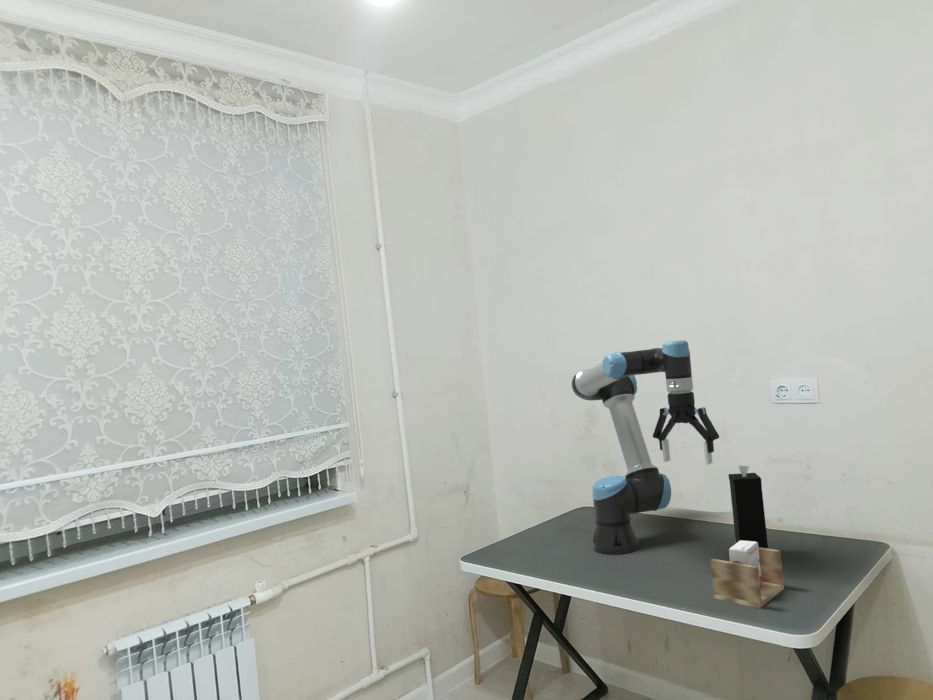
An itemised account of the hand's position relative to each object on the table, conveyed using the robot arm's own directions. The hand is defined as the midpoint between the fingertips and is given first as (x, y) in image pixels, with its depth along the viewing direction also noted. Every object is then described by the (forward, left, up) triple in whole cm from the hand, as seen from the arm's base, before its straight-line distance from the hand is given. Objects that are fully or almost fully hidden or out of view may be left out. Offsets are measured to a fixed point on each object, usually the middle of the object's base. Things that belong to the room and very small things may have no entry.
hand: (687, 462), depth 193 cm
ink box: (+20, -11, -31) cm, 38 cm away
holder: (+20, -11, -32) cm, 39 cm away
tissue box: (+9, +17, -32) cm, 37 cm away
